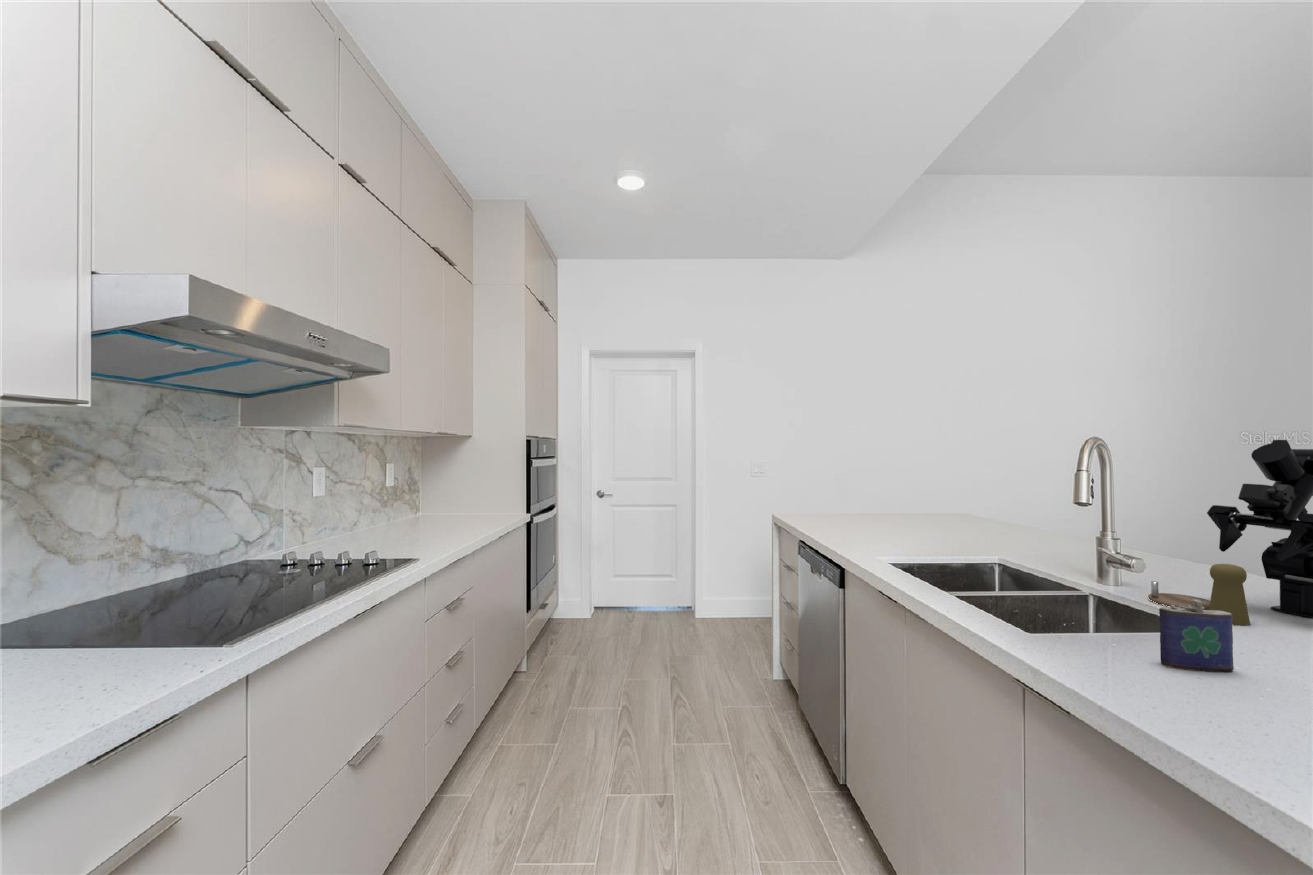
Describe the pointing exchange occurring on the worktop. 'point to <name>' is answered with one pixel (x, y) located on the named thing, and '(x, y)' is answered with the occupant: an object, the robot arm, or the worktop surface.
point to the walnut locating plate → (1174, 598)
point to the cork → (1229, 592)
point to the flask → (1196, 638)
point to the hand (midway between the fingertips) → (1248, 554)
